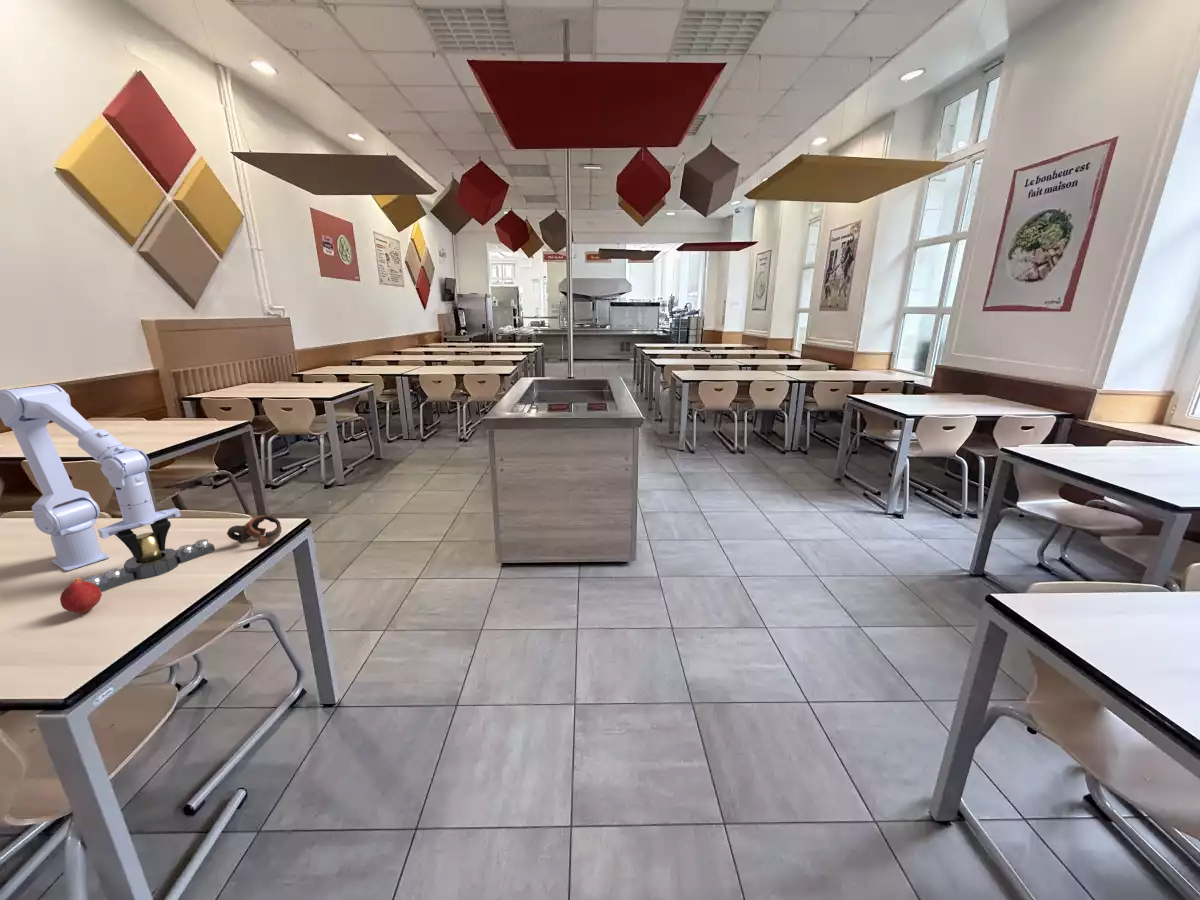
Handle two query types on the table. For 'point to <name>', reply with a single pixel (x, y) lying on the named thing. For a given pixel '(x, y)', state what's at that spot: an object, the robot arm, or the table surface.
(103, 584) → the studded flange bracket
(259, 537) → the rusty ring shackle
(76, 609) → the onion
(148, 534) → the pin
